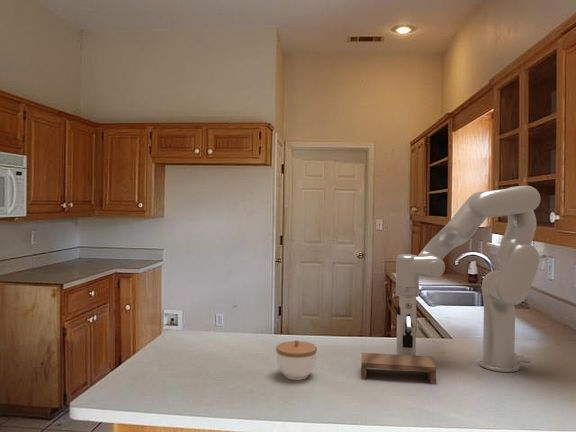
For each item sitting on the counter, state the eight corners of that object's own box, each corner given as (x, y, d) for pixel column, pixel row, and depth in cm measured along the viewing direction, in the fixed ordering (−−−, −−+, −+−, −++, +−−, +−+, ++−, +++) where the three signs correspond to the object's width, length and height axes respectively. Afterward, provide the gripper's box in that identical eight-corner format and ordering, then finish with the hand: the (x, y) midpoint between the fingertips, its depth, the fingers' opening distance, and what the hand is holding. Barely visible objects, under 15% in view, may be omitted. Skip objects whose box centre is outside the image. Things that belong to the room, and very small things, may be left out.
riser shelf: (431, 372, 146) (431, 356, 146) (435, 383, 136) (436, 367, 136) (361, 367, 150) (361, 352, 150) (361, 378, 140) (361, 362, 140)
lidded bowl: (287, 386, 134) (287, 348, 133) (269, 372, 145) (269, 337, 145) (324, 379, 139) (324, 343, 139) (303, 366, 151) (304, 333, 150)
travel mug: (417, 367, 150) (418, 306, 150) (396, 365, 152) (397, 305, 151) (415, 361, 157) (416, 302, 156) (396, 359, 158) (396, 302, 158)
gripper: (421, 296, 145) (421, 352, 145) (415, 287, 162) (415, 337, 162) (397, 295, 146) (396, 351, 146) (394, 286, 163) (393, 336, 163)
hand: (406, 343), depth 154 cm, fingers closed on travel mug, 6 cm apart
